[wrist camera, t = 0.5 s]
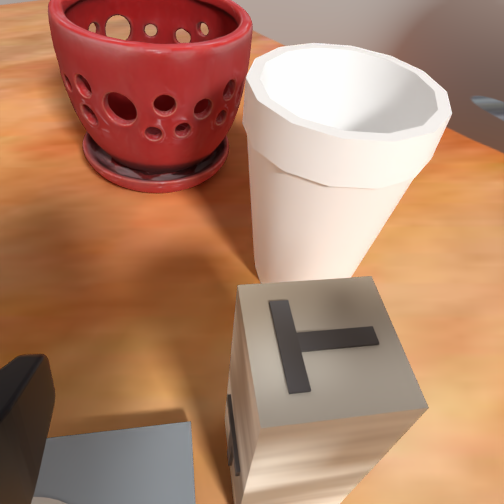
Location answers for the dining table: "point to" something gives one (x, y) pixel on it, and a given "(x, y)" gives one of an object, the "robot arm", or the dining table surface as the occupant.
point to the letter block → (313, 390)
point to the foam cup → (332, 153)
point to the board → (119, 467)
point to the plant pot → (153, 86)
